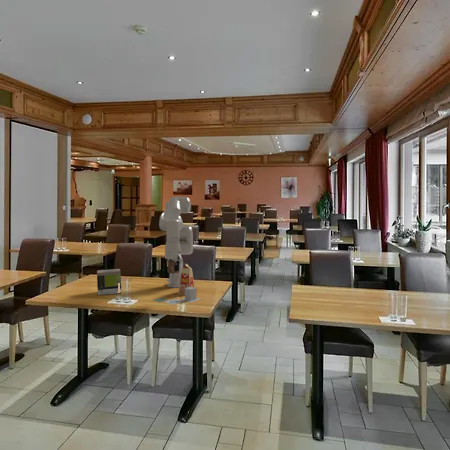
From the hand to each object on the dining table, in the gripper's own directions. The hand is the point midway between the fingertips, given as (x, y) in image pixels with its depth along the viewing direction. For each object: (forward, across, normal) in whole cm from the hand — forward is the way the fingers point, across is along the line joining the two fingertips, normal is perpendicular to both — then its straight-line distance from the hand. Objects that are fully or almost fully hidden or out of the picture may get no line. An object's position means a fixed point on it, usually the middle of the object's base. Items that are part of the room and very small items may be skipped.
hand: (173, 270), depth 238 cm
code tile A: (+19, 0, 0) cm, 19 cm away
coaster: (+19, -9, -3) cm, 21 cm away
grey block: (+19, +4, +10) cm, 22 cm away
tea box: (+20, -50, -12) cm, 55 cm away
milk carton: (+20, -10, +20) cm, 30 cm away
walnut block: (+1, 0, 0) cm, 1 cm away
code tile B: (+19, +4, +10) cm, 22 cm away
